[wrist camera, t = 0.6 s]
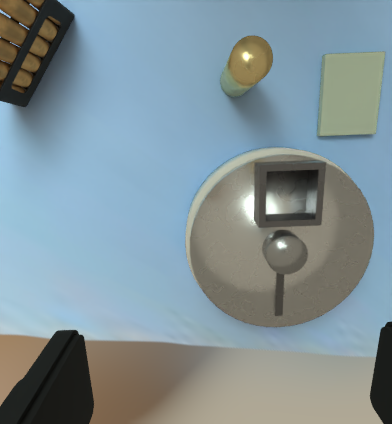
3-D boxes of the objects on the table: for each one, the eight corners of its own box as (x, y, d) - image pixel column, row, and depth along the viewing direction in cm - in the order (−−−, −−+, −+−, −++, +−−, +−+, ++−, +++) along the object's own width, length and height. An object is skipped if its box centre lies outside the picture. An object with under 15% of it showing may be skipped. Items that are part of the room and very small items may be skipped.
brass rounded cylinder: (219, 64, 30) (230, 36, 21) (250, 63, 30) (273, 34, 21) (220, 97, 31) (230, 83, 22) (250, 96, 31) (272, 81, 22)
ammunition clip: (26, 107, 31) (-74, 91, 20) (10, 96, 31) (-101, 74, 19) (75, 15, 29) (-5, -64, 17) (58, 2, 29) (-34, -87, 17)
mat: (322, 56, 30) (325, 54, 29) (380, 53, 30) (385, 51, 29) (316, 136, 32) (320, 136, 31) (371, 133, 32) (375, 133, 31)
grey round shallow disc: (185, 157, 29) (184, 160, 25) (375, 149, 29) (402, 152, 25) (193, 321, 34) (193, 345, 30) (355, 315, 34) (376, 338, 30)
